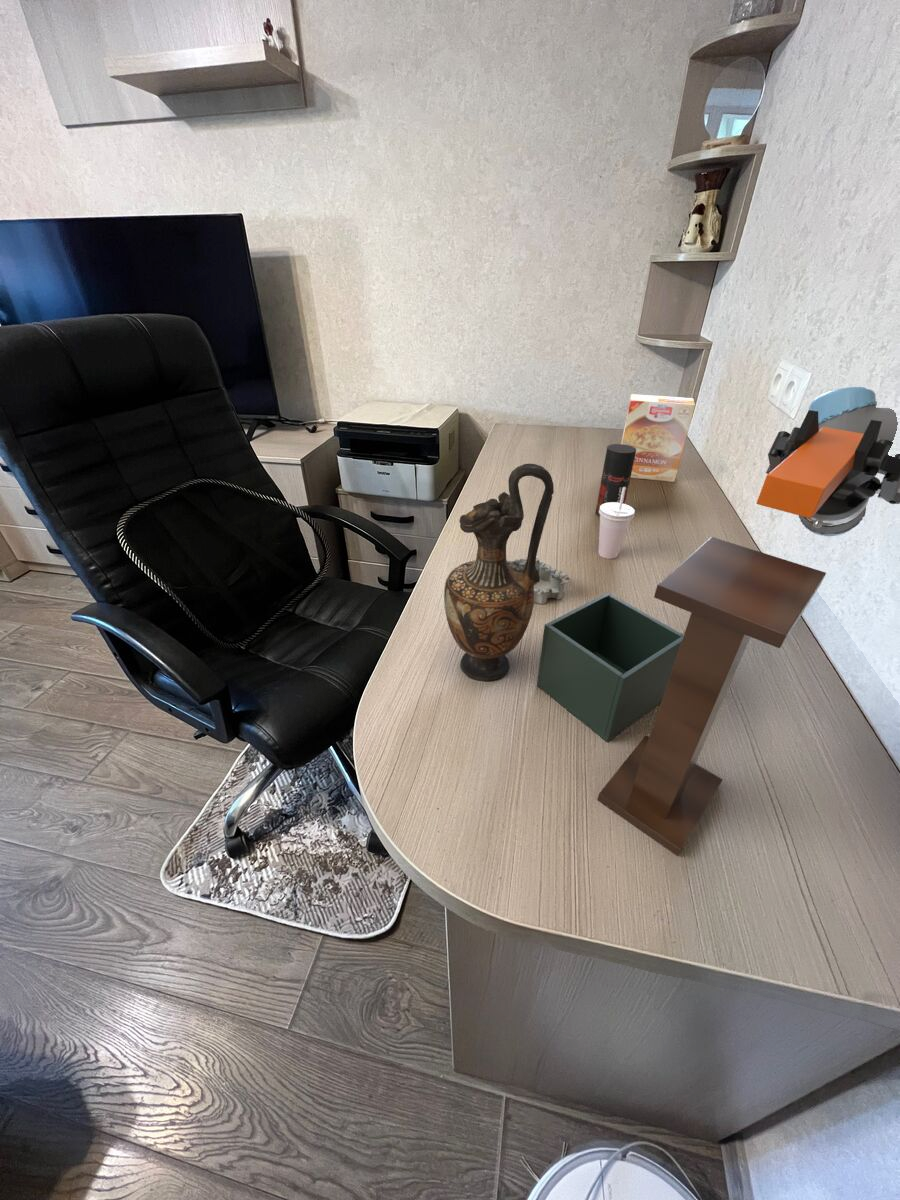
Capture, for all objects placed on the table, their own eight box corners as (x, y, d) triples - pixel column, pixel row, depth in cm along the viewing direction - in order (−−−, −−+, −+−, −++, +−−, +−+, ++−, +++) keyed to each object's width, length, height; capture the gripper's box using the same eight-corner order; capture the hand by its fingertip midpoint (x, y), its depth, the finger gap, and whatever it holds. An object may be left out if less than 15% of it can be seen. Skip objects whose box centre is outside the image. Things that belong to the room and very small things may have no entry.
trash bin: (666, 698, 67) (688, 637, 61) (607, 742, 61) (624, 679, 55) (595, 650, 75) (607, 592, 69) (536, 685, 69) (544, 624, 63)
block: (812, 451, 51) (823, 426, 50) (858, 460, 49) (871, 434, 48) (755, 504, 41) (766, 474, 39) (811, 519, 38) (825, 488, 37)
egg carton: (569, 598, 86) (573, 578, 84) (531, 608, 84) (533, 587, 82) (538, 568, 94) (540, 549, 92) (502, 576, 92) (504, 557, 90)
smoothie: (611, 565, 95) (626, 496, 87) (584, 553, 99) (596, 485, 91) (631, 555, 98) (647, 487, 90) (604, 543, 102) (617, 477, 94)
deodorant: (605, 506, 117) (618, 442, 109) (627, 514, 114) (642, 448, 105) (590, 513, 114) (601, 447, 106) (612, 521, 110) (625, 455, 102)
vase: (451, 636, 78) (452, 443, 60) (532, 645, 76) (556, 449, 59) (438, 690, 68) (434, 479, 51) (530, 701, 66) (557, 487, 49)
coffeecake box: (615, 476, 133) (630, 399, 121) (616, 467, 138) (630, 393, 127) (675, 482, 129) (696, 404, 118) (673, 473, 135) (693, 397, 123)
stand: (643, 741, 61) (711, 536, 45) (719, 786, 56) (826, 572, 40) (597, 800, 54) (657, 584, 38) (678, 856, 49) (786, 635, 33)
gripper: (901, 541, 58) (937, 498, 40) (746, 500, 68) (717, 451, 49) (935, 479, 57) (990, 404, 38) (772, 446, 67) (752, 374, 48)
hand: (836, 431), depth 44 cm, fingers closed on block, 4 cm apart
